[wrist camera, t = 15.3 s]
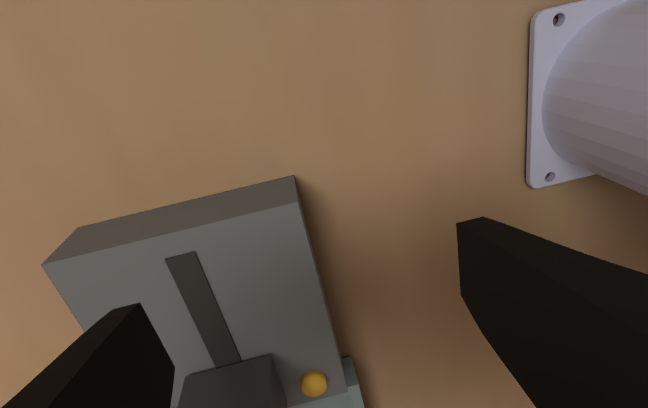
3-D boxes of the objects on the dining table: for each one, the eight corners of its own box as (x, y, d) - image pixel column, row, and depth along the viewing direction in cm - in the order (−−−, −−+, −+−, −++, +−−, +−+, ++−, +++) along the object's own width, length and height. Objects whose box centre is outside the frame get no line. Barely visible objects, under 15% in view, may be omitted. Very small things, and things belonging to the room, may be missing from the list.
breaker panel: (293, 175, 17) (298, 207, 14) (338, 347, 22) (350, 400, 19) (77, 227, 17) (33, 272, 14) (170, 390, 22) (153, 451, 19)
